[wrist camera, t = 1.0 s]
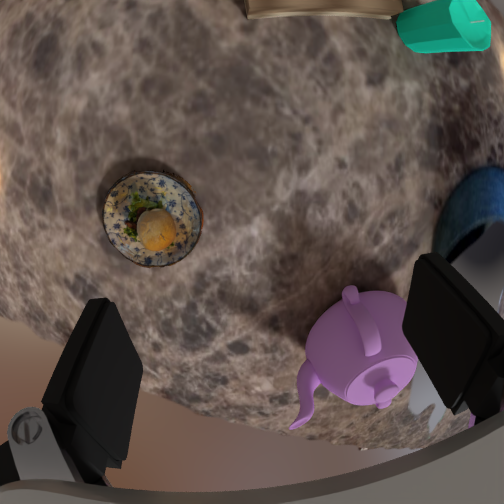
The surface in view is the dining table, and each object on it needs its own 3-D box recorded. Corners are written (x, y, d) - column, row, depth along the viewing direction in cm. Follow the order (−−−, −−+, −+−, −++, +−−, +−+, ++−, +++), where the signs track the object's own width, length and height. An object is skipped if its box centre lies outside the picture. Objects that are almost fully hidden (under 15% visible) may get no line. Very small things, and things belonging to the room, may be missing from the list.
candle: (421, 62, 28) (489, 63, 17) (387, 26, 26) (451, 10, 15) (443, 36, 26) (510, 31, 15) (411, 0, 24) (474, -19, 13)
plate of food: (107, 163, 32) (80, 182, 25) (209, 172, 33) (205, 193, 27) (108, 256, 37) (89, 289, 30) (198, 266, 39) (194, 303, 32)
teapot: (247, 309, 42) (256, 392, 30) (394, 247, 39) (449, 309, 27) (297, 391, 52) (312, 457, 40) (408, 345, 50) (440, 403, 38)
